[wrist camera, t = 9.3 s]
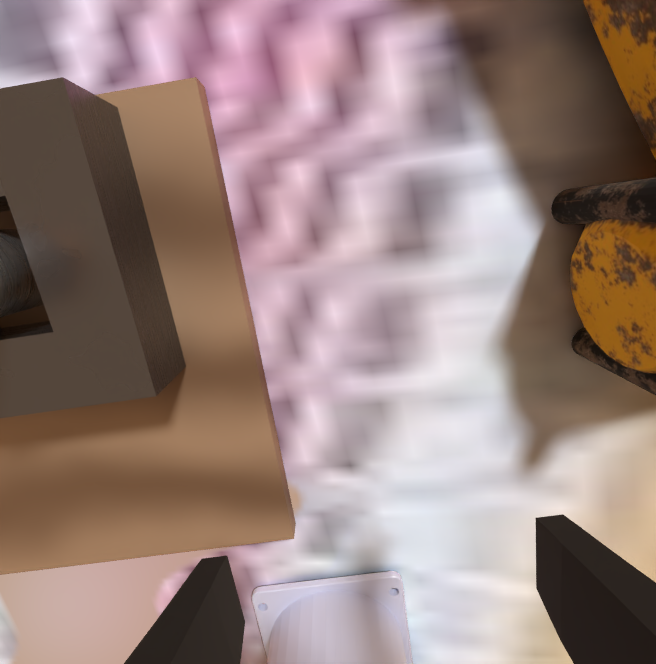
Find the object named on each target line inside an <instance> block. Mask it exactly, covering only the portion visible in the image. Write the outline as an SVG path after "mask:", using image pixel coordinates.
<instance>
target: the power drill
mask: <svg viewBox="0 0 656 664" xmlns="http://www.w3.org/2000/svg"><path fill="white" fill-rule="evenodd" d="M583 2H584V5H585V7H586V10H587V12H588V15H589V17H590V19H591V22H592V24H593V27H594V29H595V31H596V34H597V36H598V39H599V41H600V43H601V46H602V48H603V50H604V52H605V55H606V57H607V59H608V62H609V64H610V66H611V68H612V70H613V73H614V75H615V77H616V79H617V81H618V84H619V86H620V88H621V90H622V92H623V94H624V96H625V98H626V101H627V103H628V105H629V107H630V109H631V111H632V113H633V115H634V117H635V119H636V121H637V123H638V125H639V127H640V129H641V131H642V133H643V135H644V137H645V139H646V141H647V143H648V146H649V148H650V150H651V152H652V154H653V156H654V158H655V160H656V0H583ZM552 214H553V217H554V218H555V219H556V220H557V221H558V222H560V223H565V224H586V226H585V228H584V230H583V232H582V234H581V237H580V239H579V241H578V244H577V246H576V248H575V251H574V253H573V255H572V260H571V266H570V284H571V292H572V296H573V299H574V303H575V307H576V310H577V312H578V314H579V316H580V318H581V321H582V323H583V325H584V327H585V328H582V329H580V330H579V331H578V332H577V333H576V334H575V335H574V337H573V339H572V348H573V350H574V351H575V352H576V353H577V354H579V355H581V356H583V357H584V358H586V359H588V360H590V361H592V362H594V363H596V364H598V365H600V366H602V367H603V368H605V369H607V370H609V371H611V372H613V373H615V374H617V375H619V376H620V377H622V378H624V379H626V380H628V381H630V382H632V383H634V384H636V385H638V386H639V387H641V388H643V389H645V390H647V391H649V392H651V393H653V394H655V395H656V177H655V178H648V179H641V180H633V181H626V182H619V183H611V184H604V185H597V186H590V187H582V188H575V189H568V190H565V191H563V192H561V193H559V194H558V195H557V197H556V198H555V199H554V201H553V204H552Z"/></svg>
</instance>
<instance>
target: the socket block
mask: <svg viewBox="0 0 656 664" xmlns="http://www.w3.org/2000/svg"><path fill="white" fill-rule="evenodd" d="M10 210H11V213H12V216H13V219H14V222H15V224H16V227H17V230H18V233H19V236H20V239H21V241H22V244H23V247H24V250H25V253H26V256H27V258H28V261H29V264H30V267H31V270H32V273H33V275H34V278H35V281H36V284H37V287H38V290H39V292H40V295H41V298H42V301H43V304H44V307H45V309H46V312H47V315H48V318H49V321H44V322H37V323H30V324H24V325H17V326H10V327H4V328H1V327H0V418H6V417H13V416H20V415H28V414H35V413H42V412H49V411H56V410H63V409H70V408H77V407H84V406H91V405H98V404H106V403H113V402H120V401H127V400H134V399H141V398H148V397H155V396H157V395H158V394H159V393H160V392H161V391H162V390H163V389H164V388H165V387H166V386H167V385H168V384H169V383H170V382H171V381H172V380H173V379H174V378H175V377H176V376H177V375H178V374H179V373H180V372H181V371H182V370H183V369H184V368H185V367H186V364H185V360H184V356H183V352H182V349H181V345H180V341H179V337H178V333H177V330H176V326H175V322H174V318H173V315H172V311H171V307H170V303H169V299H168V296H167V292H166V288H165V284H164V281H163V277H162V273H161V269H160V266H159V262H158V258H157V254H156V250H155V247H154V243H153V239H152V235H151V232H150V228H149V224H148V220H147V216H146V213H145V209H144V205H143V201H142V198H141V194H140V190H139V186H138V182H137V179H136V175H135V171H134V167H133V164H132V160H131V156H130V152H129V148H128V145H127V141H126V137H125V133H124V130H123V126H122V122H121V118H120V114H119V111H118V107H116V106H114V105H112V104H111V103H109V102H107V101H105V100H103V99H101V98H100V97H98V96H96V95H94V94H92V93H90V92H89V91H87V90H85V89H83V88H81V87H79V86H78V85H76V84H74V83H72V82H70V81H68V80H67V79H65V78H57V79H51V80H46V81H40V82H35V83H29V84H23V85H18V86H12V87H6V88H1V89H0V212H4V211H10Z"/></svg>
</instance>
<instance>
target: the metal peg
mask: <svg viewBox="0 0 656 664" xmlns="http://www.w3.org/2000/svg"><path fill="white" fill-rule="evenodd" d="M42 305H44V304H43V301H42V298H41V295H40V292H39V290H38V287H37V284H36V281H35V278H34V275H33V273H32V270H31V267H30V264H29V261H28V258H27V256H26V253H25V250H24V247H23V244H22V241H21V239H20V236H19V233H18V230H17V229H0V317H3V316H7V315H10V314H14V313H17V312H21V311H24V310H28V309H31V308H35V307H38V306H42Z"/></svg>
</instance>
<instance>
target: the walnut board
mask: <svg viewBox="0 0 656 664" xmlns="http://www.w3.org/2000/svg"><path fill="white" fill-rule="evenodd" d="M96 96H98V97H100V98H101V99H103V100H105V101H107V102H109V103H111V104H112V105H114V106H116V107H118V111H119V114H120V118H121V122H122V126H123V130H124V133H125V137H126V141H127V145H128V148H129V152H130V156H131V160H132V164H133V167H134V171H135V175H136V179H137V182H138V186H139V190H140V194H141V198H142V201H143V205H144V209H145V213H146V216H147V220H148V224H149V228H150V232H151V235H152V239H153V243H154V247H155V250H156V254H157V258H158V262H159V266H160V269H161V273H162V277H163V281H164V284H165V288H166V292H167V296H168V299H169V303H170V307H171V311H172V315H173V318H174V322H175V326H176V330H177V333H178V337H179V341H180V345H181V349H182V352H183V356H184V360H185V364H186V367H185V368H184V369H183V370H182V371H181V372H180V373H179V374H178V375H177V376H176V377H175V378H174V379H173V380H172V381H171V382H170V383H169V384H168V385H167V386H166V387H165V388H164V389H163V390H162V391H161V392H160V393H159V394H158V395H157V396H155V397H148V398H141V399H134V400H127V401H120V402H113V403H106V404H98V405H91V406H84V407H77V408H70V409H63V410H56V411H49V412H42V413H35V414H28V415H20V416H13V417H6V418H0V575H2V574H9V573H18V572H25V571H34V570H43V569H51V568H58V567H67V566H75V565H83V564H91V563H99V562H108V561H116V560H124V559H132V558H140V557H148V556H156V555H164V554H172V553H180V552H189V551H197V550H205V549H213V548H221V547H229V546H237V545H245V544H253V543H261V542H270V541H278V540H286V539H294V533H295V524H296V523H295V518H294V513H293V509H292V504H291V499H290V494H289V489H288V485H287V480H286V475H285V470H284V466H283V461H282V456H281V451H280V446H279V442H278V437H277V432H276V427H275V422H274V418H273V413H272V408H271V403H270V398H269V394H268V389H267V384H266V379H265V375H264V370H263V365H262V360H261V355H260V351H259V346H258V341H257V336H256V331H255V327H254V322H253V317H252V312H251V307H250V303H249V298H248V293H247V288H246V284H245V279H244V274H243V269H242V264H241V260H240V255H239V250H238V245H237V240H236V236H235V231H234V226H233V221H232V216H231V212H230V207H229V202H228V197H227V192H226V188H225V183H224V178H223V173H222V169H221V164H220V159H219V154H218V149H217V145H216V140H215V135H214V130H213V125H212V121H211V116H210V111H209V106H208V101H207V97H206V92H205V87H204V86H203V85H202V84H201V83H200V81H199V80H198V79H197V78H196V77H195V78H190V79H184V80H178V81H172V82H167V83H161V84H155V85H150V86H144V87H138V88H133V89H127V90H121V91H115V92H110V93H104V94H98V95H96ZM0 229H17V227H16V224H15V222H14V219H13V216H12V213H11V210H10V211H4V212H0ZM44 321H49V318H48V315H47V312H46V309H45V307H44V305H42V306H38V307H35V308H31V309H28V310H24V311H21V312H17V313H14V314H10V315H7V316H3V317H0V327H1V328H4V327H10V326H17V325H24V324H30V323H37V322H44Z"/></svg>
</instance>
